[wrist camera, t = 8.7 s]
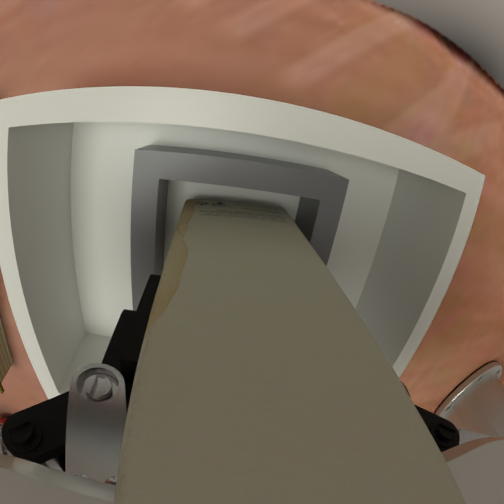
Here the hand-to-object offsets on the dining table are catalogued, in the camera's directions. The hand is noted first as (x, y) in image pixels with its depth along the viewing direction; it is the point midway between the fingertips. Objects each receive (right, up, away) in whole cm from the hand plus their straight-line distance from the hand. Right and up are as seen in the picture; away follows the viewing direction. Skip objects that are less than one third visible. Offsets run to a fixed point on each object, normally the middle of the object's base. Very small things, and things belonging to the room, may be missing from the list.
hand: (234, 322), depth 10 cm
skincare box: (0, +2, +4) cm, 4 cm away
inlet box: (-1, +3, +5) cm, 6 cm away
